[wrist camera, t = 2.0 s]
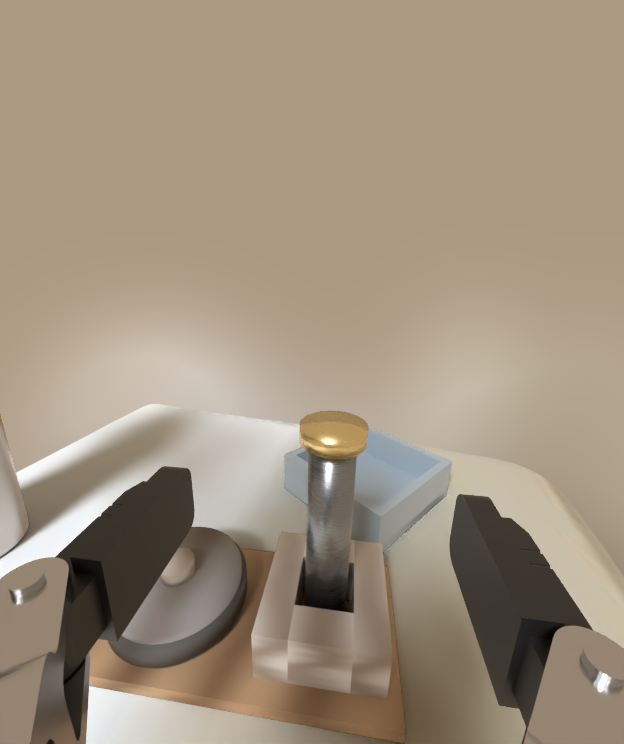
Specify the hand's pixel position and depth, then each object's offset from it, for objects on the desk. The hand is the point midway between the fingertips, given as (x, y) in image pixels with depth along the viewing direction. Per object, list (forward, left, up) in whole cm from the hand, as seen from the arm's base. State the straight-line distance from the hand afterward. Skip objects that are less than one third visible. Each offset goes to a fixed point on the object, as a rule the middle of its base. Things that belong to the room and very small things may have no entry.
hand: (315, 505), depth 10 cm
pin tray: (-16, +25, -21) cm, 37 cm away
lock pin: (-7, +9, -20) cm, 23 cm away
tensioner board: (-12, +5, -21) cm, 25 cm away
